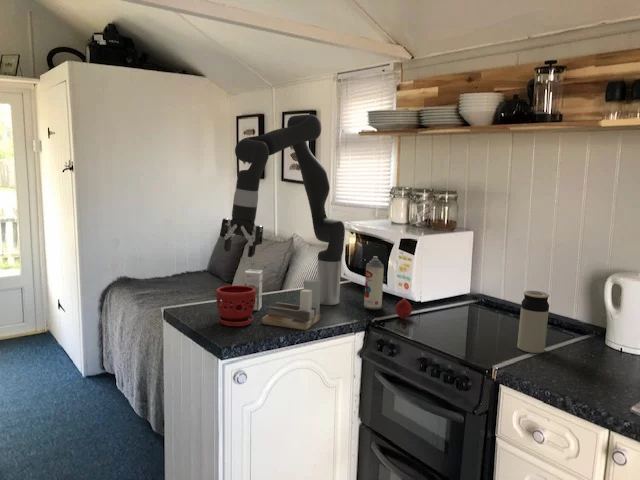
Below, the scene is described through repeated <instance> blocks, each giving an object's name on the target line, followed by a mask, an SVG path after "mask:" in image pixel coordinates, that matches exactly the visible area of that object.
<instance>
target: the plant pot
mask: <svg viewBox="0 0 640 480" xmlns="http://www.w3.org/2000/svg"><path fill="white" fill-rule="evenodd" d="M215 291H216V293H215V295H216V296H215V297H216V306H217V309H218V313H219V315H220V316H219V317H218V321H219V323H221V324H222V325H224V326H228V327H246V326H247V325H250V324H251V323H252V322H253V321H254V316H253V315H252V314H253V312H254V311H253V310H254V306H255V298H256V290H255V288H253V287H249V286H244V285H226V286H221V287H218V288H217V289H216V290H215ZM221 302H222V303H221Z"/></svg>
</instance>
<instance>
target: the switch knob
mask: <svg viewBox="0 0 640 480" xmlns="http://www.w3.org/2000/svg"><path fill="white" fill-rule="evenodd" d="M299 305H300V309H299V310H300V311H307V312H310V319H312V318H313V317H314V311H315V310H311V308H312V290H307V289H304V288H303V289H302V290H300V294H299Z"/></svg>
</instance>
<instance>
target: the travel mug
mask: <svg viewBox="0 0 640 480" xmlns="http://www.w3.org/2000/svg"><path fill="white" fill-rule="evenodd" d="M523 296H524V297H523V300H521V303H520V304H521V305H520V314H519V325H518V335H517V336H518V337H517V345H516V347H517V349H519V350H521V351H522V352H526V353H530V354H531V353H532V354H541V353H544V352H545V350H546V349H545V347H546V341H547V339H546V338H547V331H548V328H547V327H548V321H549V320H548V319H549V312H550V304H549V301H548V299H549V297H550V294H549V293H547V292H544V291H539V290H524V291H523Z"/></svg>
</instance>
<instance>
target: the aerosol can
mask: <svg viewBox="0 0 640 480" xmlns="http://www.w3.org/2000/svg"><path fill="white" fill-rule="evenodd" d="M378 257H379V256H376V255H375V256H374V255H373V258H372V259H371V260H369V262H368V263H366V266H365V281H364V282H365V283H364V299H363V300H364V301H363V308H365V309H368V310H380V309H382V305H383V304H382V302H383V288H384V286H383V285H384V270H385V267H384V264H383V263H382V261H380V260H379V258H378Z"/></svg>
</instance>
